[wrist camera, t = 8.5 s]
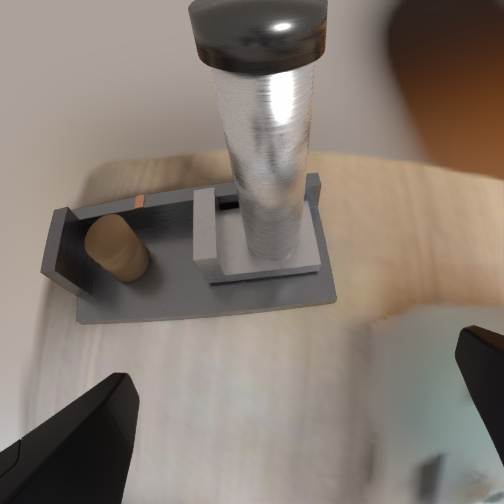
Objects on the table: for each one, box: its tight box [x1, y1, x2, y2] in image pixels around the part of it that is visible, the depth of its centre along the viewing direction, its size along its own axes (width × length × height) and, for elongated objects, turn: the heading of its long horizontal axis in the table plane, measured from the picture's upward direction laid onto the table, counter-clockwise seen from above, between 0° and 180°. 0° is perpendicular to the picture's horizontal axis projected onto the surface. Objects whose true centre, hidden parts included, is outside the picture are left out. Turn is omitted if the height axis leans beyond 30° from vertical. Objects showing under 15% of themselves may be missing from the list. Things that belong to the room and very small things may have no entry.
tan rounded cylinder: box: [85, 214, 150, 282], centre depth 18 cm, size 3×3×4 cm
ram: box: [188, 0, 328, 284], centre depth 13 cm, size 7×4×15 cm, turn 95°
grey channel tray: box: [41, 173, 337, 324], centre depth 18 cm, size 17×8×5 cm, turn 95°
